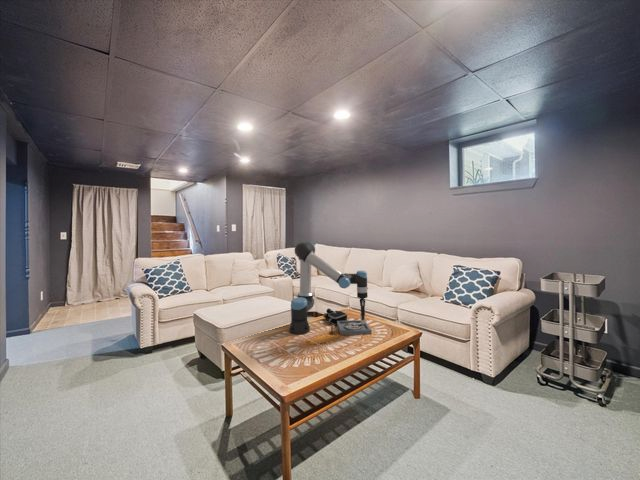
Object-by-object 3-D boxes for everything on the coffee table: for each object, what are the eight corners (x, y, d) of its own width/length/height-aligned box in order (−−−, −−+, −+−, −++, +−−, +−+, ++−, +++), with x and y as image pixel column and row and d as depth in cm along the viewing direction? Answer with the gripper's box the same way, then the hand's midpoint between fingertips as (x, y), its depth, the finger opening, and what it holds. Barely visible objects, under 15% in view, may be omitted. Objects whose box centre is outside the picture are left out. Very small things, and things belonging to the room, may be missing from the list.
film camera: (320, 320, 237) (333, 316, 247) (334, 327, 225) (347, 322, 235) (320, 310, 236) (333, 306, 246) (334, 317, 224) (347, 312, 234)
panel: (340, 334, 205) (340, 331, 205) (336, 324, 227) (336, 320, 227) (371, 333, 207) (371, 330, 206) (364, 323, 228) (364, 320, 228)
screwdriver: (332, 334, 206) (332, 331, 206) (330, 326, 222) (330, 323, 222) (336, 334, 206) (336, 330, 206) (334, 326, 222) (334, 323, 222)
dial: (353, 331, 208) (353, 322, 207) (340, 326, 218) (340, 318, 217) (366, 326, 217) (366, 318, 216) (353, 322, 226) (353, 314, 226)
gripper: (368, 294, 206) (368, 326, 208) (366, 289, 220) (367, 320, 222) (357, 294, 207) (358, 326, 209) (356, 289, 221) (357, 320, 223)
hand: (363, 323), depth 215 cm, fingers closed
